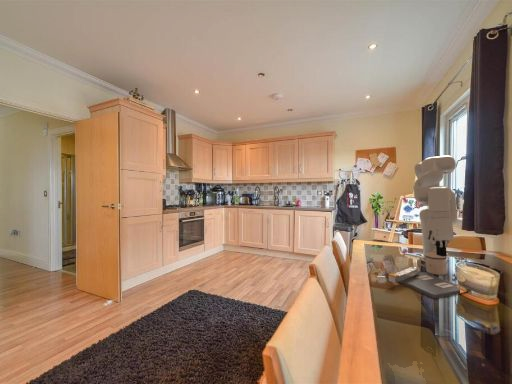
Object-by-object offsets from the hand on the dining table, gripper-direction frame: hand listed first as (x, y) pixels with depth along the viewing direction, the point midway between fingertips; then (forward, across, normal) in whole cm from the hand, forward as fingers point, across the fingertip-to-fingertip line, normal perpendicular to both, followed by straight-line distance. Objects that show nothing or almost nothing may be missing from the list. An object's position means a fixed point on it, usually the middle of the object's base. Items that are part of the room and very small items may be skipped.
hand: (441, 255), depth 101 cm
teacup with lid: (+15, -14, -17) cm, 27 cm away
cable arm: (+13, +9, -11) cm, 19 cm away
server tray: (+15, +3, -5) cm, 16 cm away
